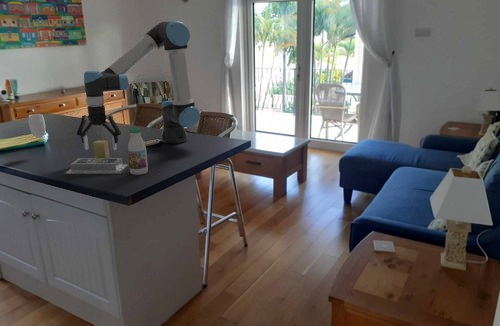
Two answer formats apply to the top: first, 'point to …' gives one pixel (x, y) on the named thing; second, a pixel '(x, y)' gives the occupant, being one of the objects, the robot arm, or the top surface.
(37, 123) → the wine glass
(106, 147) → the block
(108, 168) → the butter dish
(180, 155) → the top surface
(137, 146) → the milk bottle
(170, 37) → the robot arm
